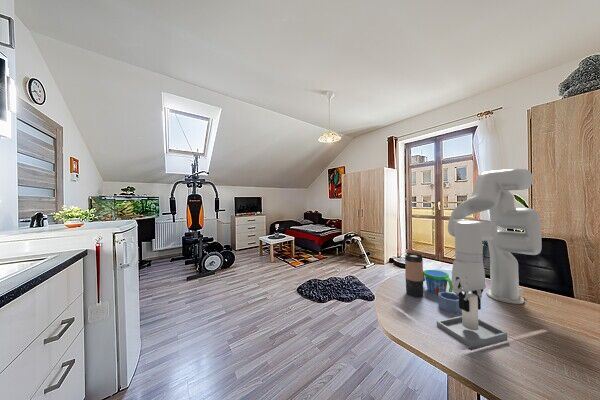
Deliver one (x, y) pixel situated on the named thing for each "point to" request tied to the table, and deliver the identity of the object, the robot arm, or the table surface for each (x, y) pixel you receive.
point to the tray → (473, 333)
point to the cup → (449, 302)
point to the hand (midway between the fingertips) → (469, 308)
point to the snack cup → (437, 281)
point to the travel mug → (414, 275)
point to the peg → (471, 313)
